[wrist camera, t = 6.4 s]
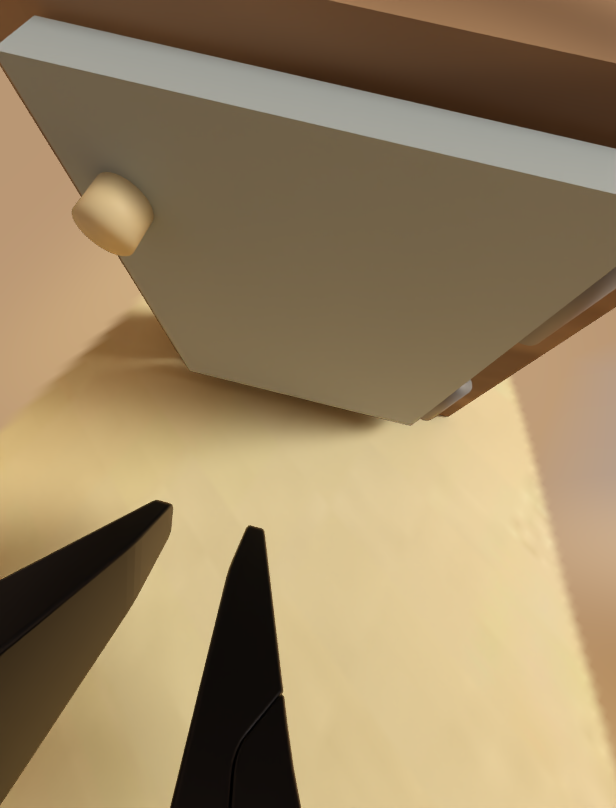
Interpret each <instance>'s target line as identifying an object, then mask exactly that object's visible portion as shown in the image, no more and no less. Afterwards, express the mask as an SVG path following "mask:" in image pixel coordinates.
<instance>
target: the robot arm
mask: <svg viewBox="0 0 616 808" xmlns="http://www.w3.org/2000/svg"><path fill="white" fill-rule="evenodd" d="M172 515H173V506H172V504H170V503H167V502H163V501H160V500H155V501H152V502H150V503H148V504H146V505H144V506H142V507H140V508H138V509H137V510H135V511H133V512H131V513H129V514H127V515H125V516H123V517H121V518H119V519H117V520H115V521H113V522H111V523H109V524H108V525H106V526H104V527H102V528H100V529H98V530H96V531H94V532H92V533H90V534H88V535H86V536H84V537H82V538H80V539H78V540H77V541H75V542H73V543H71V544H69V545H67V546H65V547H63V548H61V549H59V550H57V551H55V552H53V553H51V554H49V555H48V556H46V557H44V558H42V559H40V560H38V561H36V562H34V563H32V564H30V565H28V566H26V567H24V568H22V569H20V570H19V571H17V572H15V573H13V574H11V575H9V576H7V577H5V578H3V579H1V580H0V805H1V803H2V802H3V800H4V799H5V797H6V796H7V794H8V793H9V791H10V790H11V788H12V787H13V785H14V784H15V782H16V781H17V779H18V778H19V776H20V775H21V773H22V772H23V770H24V769H25V767H26V766H27V764H28V762H29V761H30V759H31V758H32V756H33V755H34V753H35V752H36V750H37V749H38V747H39V746H40V744H41V743H42V741H43V740H44V738H45V737H46V735H47V734H48V732H49V731H50V729H51V728H52V726H53V725H54V723H55V722H56V720H57V719H58V717H59V716H60V714H61V713H62V711H63V710H64V708H65V706H66V705H67V703H68V702H69V700H70V699H71V697H72V696H73V694H74V693H75V691H76V690H77V688H78V687H79V685H80V684H81V682H82V681H83V679H84V678H85V676H86V675H87V673H88V672H89V670H90V669H91V667H92V666H93V664H94V663H95V661H96V660H97V658H98V657H99V655H100V654H101V652H102V651H103V649H104V647H105V646H106V644H107V643H108V641H109V640H110V638H111V637H112V635H113V634H114V632H115V631H116V629H117V628H118V626H119V625H120V623H121V622H122V620H123V619H124V617H125V616H126V614H127V613H128V611H129V609H130V608H131V606H132V605H133V603H134V601H135V599H136V598H137V596H138V594H139V592H140V590H141V588H142V587H143V585H144V583H145V581H146V579H147V577H148V575H149V573H150V572H151V570H152V568H153V566H154V564H155V562H156V560H157V558H158V557H159V555H160V553H161V551H162V549H163V547H164V545H165V543H166V541H167V540H168V537H169V535H170V532H171V526H172ZM282 693H283V685H282V676H281V668H280V660H279V651H278V643H277V634H276V626H275V617H274V609H273V600H272V592H271V583H270V575H269V566H268V558H267V549H266V541H265V533H264V530H263V529H262V528H258V527H254V526H251V525H249V526H248V527H247V528H246V530H245V532H244V535H243V537H242V539H241V541H240V544H239V546H238V548H237V551H236V553H235V555H234V557H233V560H232V562H231V565H230V567H229V570H228V573H227V577H226V581H225V585H224V589H223V593H222V597H221V601H220V605H219V609H218V613H217V618H216V622H215V626H214V630H213V634H212V638H211V642H210V646H209V650H208V655H207V659H206V663H205V667H204V671H203V675H202V679H201V683H200V687H199V691H198V696H197V700H196V704H195V708H194V712H193V716H192V720H191V724H190V728H189V733H188V737H187V741H186V745H185V749H184V753H183V757H182V761H181V765H180V769H179V774H178V778H177V782H176V786H175V790H174V794H173V798H172V802H171V806H170V808H301V805H300V799H299V794H298V789H297V783H296V778H295V773H294V767H293V760H292V753H291V746H290V739H289V732H288V725H287V717H286V708H285V700H284V696H283V695H282Z"/></svg>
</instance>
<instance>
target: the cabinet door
mask: <svg viewBox="0 0 616 808" xmlns="http://www.w3.org/2000/svg"><path fill="white" fill-rule="evenodd" d="M0 63H1V65H2V66H3V68H4V70H5V71H6V73H7V74H8V76H9V78H10V79H11V81H12V83H13V84H14V86H15V87H16V89H17V91H18V92H19V94H20V96H21V97H22V99H23V100H24V102H25V104H26V105H27V107H28V109H29V110H30V112H31V113H32V115H33V117H34V118H35V120H36V122H37V123H38V125H39V127H40V128H41V130H42V131H43V133H44V135H45V136H46V138H47V140H48V141H49V143H50V144H51V146H52V148H53V149H54V151H55V153H56V154H57V156H58V157H59V159H60V161H61V162H62V164H63V166H64V167H65V169H66V170H67V172H68V174H69V175H70V177H71V179H72V180H73V182H74V183H75V185H76V187H77V188H78V190H79V192H80V193H81V195H82V197H81V198H80V199H79V201H78V202H77V203H76V205H75V206H74V207H73V209H72V216H73V219H74V221H75V223H76V225H77V226H78V228H79V229H80V230H81V231H82V232H83V233H84V234H85V235H86V236H87V237H88V238H89V239H90V240H91V241H92V242H94V243H95V244H96V245H98V246H99V247H101V248H103V249H105V250H106V251H108V252H110V253H113V254H116V255H119V257H120V258H121V260H122V262H123V263H124V265H125V266H126V268H127V270H128V271H129V273H130V275H131V276H132V278H133V279H134V281H135V283H136V284H137V286H138V288H139V289H140V291H141V293H142V294H143V296H144V297H145V299H146V301H147V302H148V304H149V306H150V307H151V309H152V310H153V312H154V314H155V315H156V317H157V319H158V320H159V322H160V323H161V325H162V327H163V328H164V330H165V332H166V333H167V335H168V336H169V338H170V340H171V341H172V343H173V345H174V346H175V348H176V349H177V351H178V353H179V354H180V356H181V358H182V359H183V361H184V362H185V364H186V366H187V367H188V369H189V371H192V372H196V373H200V374H205V375H209V376H213V377H217V378H221V379H225V380H229V381H233V382H237V383H241V384H245V385H249V386H253V387H257V388H261V389H265V390H269V391H273V392H277V393H281V394H285V395H289V396H293V397H297V398H301V399H305V400H309V401H313V402H317V403H321V404H325V405H329V406H333V407H337V408H341V409H345V410H349V411H353V412H357V413H361V414H365V415H369V416H373V417H377V418H381V419H385V420H390V421H394V422H398V423H402V424H406V425H410V426H411V425H412V424H414V423H415V422H416V421H418V420H419V419H422V420H426V421H427V420H431V419H433V418H434V417H436V416H437V415H438V414H440V413H441V412H443V411H444V410H445V409H447V408H448V407H450V406H451V405H452V404H454V403H455V402H457V401H458V400H459V399H461V398H462V397H464V396H465V395H467V394H468V393H469V392H470V391H471V389H472V382H471V379H472V378H473V377H474V376H476V375H477V374H478V373H479V372H481V371H482V370H483V369H485V368H486V367H487V366H488V365H490V364H491V363H492V362H494V361H495V360H496V359H497V358H499V357H500V356H501V355H503V354H504V353H505V352H506V351H508V350H509V349H510V348H512V347H513V346H514V345H516V344H517V343H518V342H519V343H520V344H523V345H527V346H533V345H537V344H538V343H540V342H541V341H543V340H544V339H545V338H547V337H548V336H550V335H551V334H553V333H554V332H555V331H557V330H558V329H560V328H561V327H562V326H564V325H565V324H567V323H568V322H569V321H571V320H572V319H574V318H575V317H576V316H578V315H579V314H581V313H582V312H584V311H585V310H586V309H588V308H589V307H591V306H592V305H593V304H595V303H596V302H598V301H599V300H600V299H602V298H603V297H605V296H606V295H607V294H609V293H610V292H612V291H613V290H615V289H616V149H615V148H610V147H606V146H602V145H597V144H593V143H589V142H584V141H580V140H575V139H571V138H567V137H562V136H558V135H554V134H549V133H545V132H541V131H536V130H532V129H528V128H523V127H519V126H514V125H510V124H506V123H501V122H497V121H493V120H488V119H484V118H480V117H475V116H471V115H467V114H462V113H458V112H454V111H449V110H445V109H440V108H436V107H432V106H427V105H423V104H419V103H414V102H410V101H406V100H401V99H397V98H393V97H388V96H384V95H379V94H375V93H371V92H366V91H362V90H358V89H353V88H349V87H345V86H340V85H336V84H332V83H327V82H323V81H318V80H314V79H310V78H305V77H301V76H297V75H292V74H288V73H284V72H279V71H275V70H271V69H266V68H262V67H257V66H253V65H249V64H244V63H240V62H236V61H231V60H227V59H223V58H218V57H214V56H210V55H205V54H201V53H196V52H192V51H188V50H183V49H179V48H175V47H170V46H166V45H162V44H157V43H153V42H149V41H144V40H140V39H136V38H131V37H127V36H122V35H118V34H114V33H109V32H105V31H101V30H96V29H92V28H88V27H83V26H79V25H75V24H70V23H66V22H61V21H57V20H53V19H48V18H44V17H40V16H35V15H34V16H33V17H32V18H30V19H29V20H28V21H27V22H25V23H24V24H23V25H22V26H20V27H19V28H18V29H17V30H15V31H14V32H13V33H12V34H10V35H9V36H8V37H7V38H5V39H4V40H3V41H2V42H1V43H0Z"/></svg>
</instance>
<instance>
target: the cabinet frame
mask: <svg viewBox="0 0 616 808" xmlns="http://www.w3.org/2000/svg"><path fill="white" fill-rule="evenodd" d="M34 15H35V16H40V17H44V18H48V19H53V20H57V21H61V22H66V23H70V24H75V25H79V26H83V27H88V28H92V29H96V30H101V31H105V32H109V33H114V34H118V35H122V36H127V37H131V38H136V39H140V40H144V41H149V42H153V43H157V44H162V45H166V46H170V47H175V48H179V49H183V50H188V51H192V52H196V53H201V54H205V55H210V56H214V57H218V58H223V59H227V60H231V61H236V62H240V63H244V64H249V65H253V66H257V67H262V68H266V69H271V70H275V71H279V72H284V73H288V74H292V75H297V76H301V77H305V78H310V79H314V80H318V81H323V82H327V83H332V84H336V85H340V86H345V87H349V88H353V89H358V90H362V91H366V92H371V93H375V94H379V95H384V96H388V97H393V98H397V99H401V100H406V101H410V102H414V103H419V104H423V105H427V106H432V107H436V108H440V109H445V110H449V111H454V112H458V113H462V114H467V115H471V116H475V117H480V118H484V119H488V120H493V121H497V122H501V123H506V124H510V125H514V126H519V127H523V128H528V129H532V130H536V131H541V132H545V133H549V134H554V135H558V136H562V137H567V138H571V139H575V140H580V141H584V142H589V143H593V144H597V145H602V146H606V147H610V148H615V149H616V0H0V43H1V42H2V41H3V40H4V39H5V38H7V37H8V36H9V35H10V34H12V33H13V32H14V31H15V30H17V29H18V28H19V27H20V26H22V25H23V24H24V23H25V22H27V21H28V20H29V19H30V18H32V17H33V16H34ZM0 66H1V68H2V69H3V71H4V73H5V74H6V76H7V78H8V79H9V81H10V82H11V84H12V86H13V87H14V89H15V90H16V92H17V94H18V95H19V97H20V98H21V100H22V102H23V103H24V105H25V106H26V108H27V110H28V111H29V113H30V115H31V116H32V117H33V115H32V113H31V112H30V110H29V109H28V107H27V105H26V104H25V102H24V100H23V99H22V97H21V96H20V94H19V92H18V91H17V89H16V87H15V86H14V84H13V83H12V81H11V79H10V78H9V76H8V74H7V73H6V71H5V70H4V68H3V66H2V65H1V63H0ZM33 119H34V121H35V123H36V124H37V126H38V128H39V129H40V131H41V132H42V134H43V136H44V137H45V139H46V140H47V138H46V136H45V135H44V133H43V131H42V130H41V128H40V127H39V125H38V123H37V122H36V120H35V118H34V117H33ZM47 142H48V144H49V145H50V147H51V149H52V150H53V152H54V154H55V155H56V157H57V158H58V160H59V161H60V159H59V157H58V156H57V154H56V153H55V151H54V149H53V148H52V146H51V144H50V143H49V141H48V140H47ZM60 163H61V165H62V166H63V164H62V162H61V161H60ZM63 168H64V169H65V167H64V166H63ZM65 171H66V173H67V174H68V172H67V170H66V169H65ZM68 176H69V178H70V179H71V177H70V175H69V174H68ZM71 181H72V183H73V184H74V186H75V187H76V185H75V183H74V182H73V180H72V179H71ZM76 189H77V191H78V192H79V190H78V188H77V187H76ZM79 194H80V196H81V197H82V195H81V193H80V192H79ZM118 257H119V255H118ZM119 259H120V260H121V258H120V257H119ZM121 262H122V260H121ZM122 263H123V262H122ZM123 265H124V263H123ZM124 267H125V268H126V266H125V265H124ZM126 270H127V268H126ZM127 271H128V270H127ZM128 273H129V271H128ZM129 275H130V273H129ZM130 276H131V275H130ZM131 278H132V276H131ZM132 279H133V278H132ZM133 281H134V279H133ZM134 283H135V281H134ZM135 284H136V283H135ZM136 286H137V284H136ZM137 288H138V286H137ZM138 289H139V288H138ZM139 291H140V289H139ZM140 293H141V291H140ZM141 294H142V293H141ZM142 296H143V294H142ZM143 297H144V296H143ZM144 299H145V297H144ZM145 301H146V299H145ZM146 302H147V301H146ZM147 304H148V302H147ZM148 305H149V304H148ZM149 307H150V306H149ZM615 307H616V289H615V290H613V291H612V292H610V293H609V294H607V295H606V296H605V297H603V298H602V299H600V300H599V301H598V302H596V303H595V304H593V305H592V306H591V307H589V308H588V309H586V310H585V311H584V312H582V313H581V314H579V315H578V316H576V317H575V318H574V319H572V320H571V321H569V322H568V323H567V324H565V325H564V326H562V327H561V328H560V329H558V330H557V331H555V332H554V333H553V334H551V335H550V336H548V337H547V338H545V339H544V340H543V341H541V342H540V343H538V344H537V345H533V346H527V345H523V344H520V343H519V342H518V343H517V344H516V345H514V346H513V347H512V348H510V349H509V350H508V351H506V352H505V353H504V354H503V355H501V356H500V357H499V358H497V359H496V360H495V361H494V362H492V363H491V364H490V365H488V366H487V367H486V368H485V369H483V370H482V371H481V372H479V373H478V374H477V375H476V376H474V377H473V378H472V379H471V382H472V389H471V391H470V392H469V393H468V394H467V395H465V396H464V397H462V398H461V399H459V400H458V401H457V402H455V403H454V404H452V405H451V406H450V407H448V408H447V409H445V410H444V411H443V412H441V413H440V415H444V416H450V415H451V414H453V413H455V412H456V411H458V410H459V409H461V408H462V407H464V406H465V405H467V404H468V403H470V402H471V401H473V400H474V399H476V398H477V397H479V396H480V395H482V394H484V393H485V392H487V391H488V390H490V389H491V388H493V387H494V386H496V385H497V384H499V383H500V382H502V381H503V380H505V379H506V378H508V377H510V376H511V375H513V374H514V373H516V372H517V371H519V370H520V369H522V368H523V367H525V366H526V365H528V364H529V363H531V362H532V361H534V360H536V359H537V358H538V357H540V356H541V355H543V354H545V353H546V352H548V351H549V350H551V349H552V348H554V347H555V346H557V345H558V344H560V343H561V342H563V341H565V340H566V339H568V338H569V337H571V336H572V335H574V334H575V333H577V332H578V331H580V330H581V329H583V328H584V327H586V326H588V325H589V324H591V323H592V322H593V321H595V320H597V319H598V318H600V317H601V316H603V315H604V314H606V313H607V312H609V311H610V310H612V309H613V308H615ZM150 309H151V307H150ZM151 310H152V309H151ZM152 312H153V310H152ZM153 314H154V312H153ZM154 315H155V314H154ZM155 317H156V315H155ZM156 318H157V317H156ZM157 320H158V319H157ZM158 322H159V320H158ZM159 323H160V322H159ZM160 325H161V323H160ZM161 326H162V325H161ZM162 328H163V327H162ZM163 330H164V328H163ZM164 331H165V330H164ZM165 333H166V332H165ZM166 335H167V333H166ZM167 336H168V335H167ZM168 338H169V336H168ZM169 339H170V338H169ZM170 341H171V340H170ZM171 343H172V341H171ZM172 344H173V343H172ZM173 346H174V345H173ZM174 347H175V346H174ZM175 349H176V348H175ZM176 351H177V349H176ZM177 352H178V351H177Z"/></svg>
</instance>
